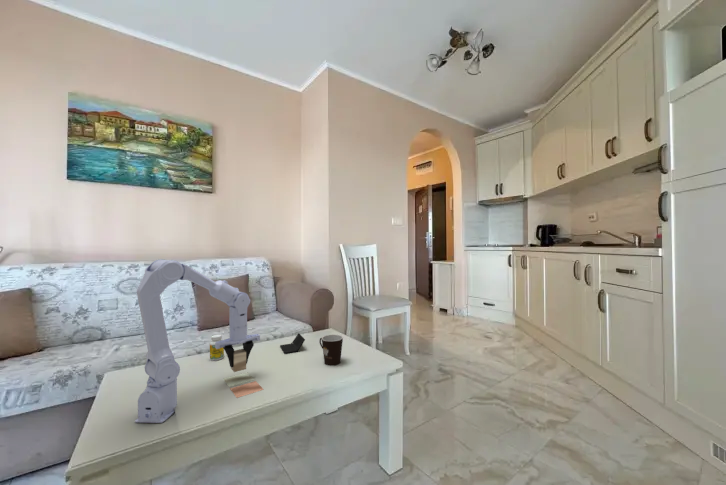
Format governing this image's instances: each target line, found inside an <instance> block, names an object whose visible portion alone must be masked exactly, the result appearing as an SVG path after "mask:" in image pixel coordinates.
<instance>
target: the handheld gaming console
mask: <svg viewBox="0 0 726 485" xmlns="http://www.w3.org/2000/svg"><path fill="white" fill-rule="evenodd" d="M305 341H306V339H305V338H304V337H303V336H302V335H301V333H299V332H298V333H297V335H295V338H294V339H293V341H292V342H290V343H287V344H280V345H279V348H280V349H281V351H282V352H283V354H284V355H291V354H297V353H298V352H299V350H300V348H301V347H302V345H303V344H304V343H305Z"/></svg>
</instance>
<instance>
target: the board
mask: <svg viewBox="0 0 726 485" xmlns="http://www.w3.org/2000/svg"><path fill="white" fill-rule="evenodd" d="M223 381H224V382H225V383H226V385H227V386H228V387H229V389H230V391H231V393H233V394H234V396H235V398H237V399H238V398H240V397H244V396H247V395H251V394H254V393H257V392H260V391H263V390H264V388H263V387H262V386H261V384H259V383H258V382H257V381H256V380H255V379H254V377H253V376H251V374H250V373H249V372H243V373H240V374H236V375H233V376H228V377H225V378H223ZM237 385H238V386H237Z"/></svg>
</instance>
